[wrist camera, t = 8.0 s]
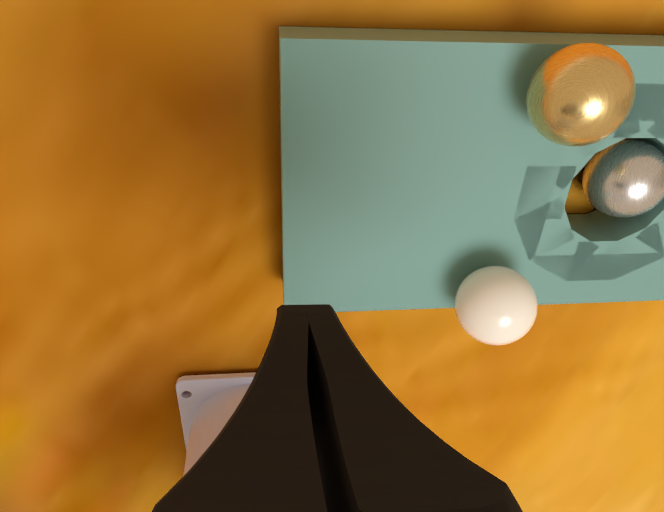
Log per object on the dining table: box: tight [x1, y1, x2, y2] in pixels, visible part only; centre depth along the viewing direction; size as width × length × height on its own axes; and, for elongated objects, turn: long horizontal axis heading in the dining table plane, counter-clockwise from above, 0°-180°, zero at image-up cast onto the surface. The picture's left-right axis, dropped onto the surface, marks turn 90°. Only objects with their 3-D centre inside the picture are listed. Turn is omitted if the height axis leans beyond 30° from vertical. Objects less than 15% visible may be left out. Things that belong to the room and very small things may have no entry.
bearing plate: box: [279, 26, 664, 312], centre depth 22 cm, size 19×11×2 cm, turn 88°
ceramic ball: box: [455, 266, 538, 345], centre depth 21 cm, size 3×3×3 cm
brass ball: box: [526, 43, 636, 147], centre depth 17 cm, size 3×3×3 cm
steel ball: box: [582, 139, 664, 218], centre depth 22 cm, size 3×3×3 cm
